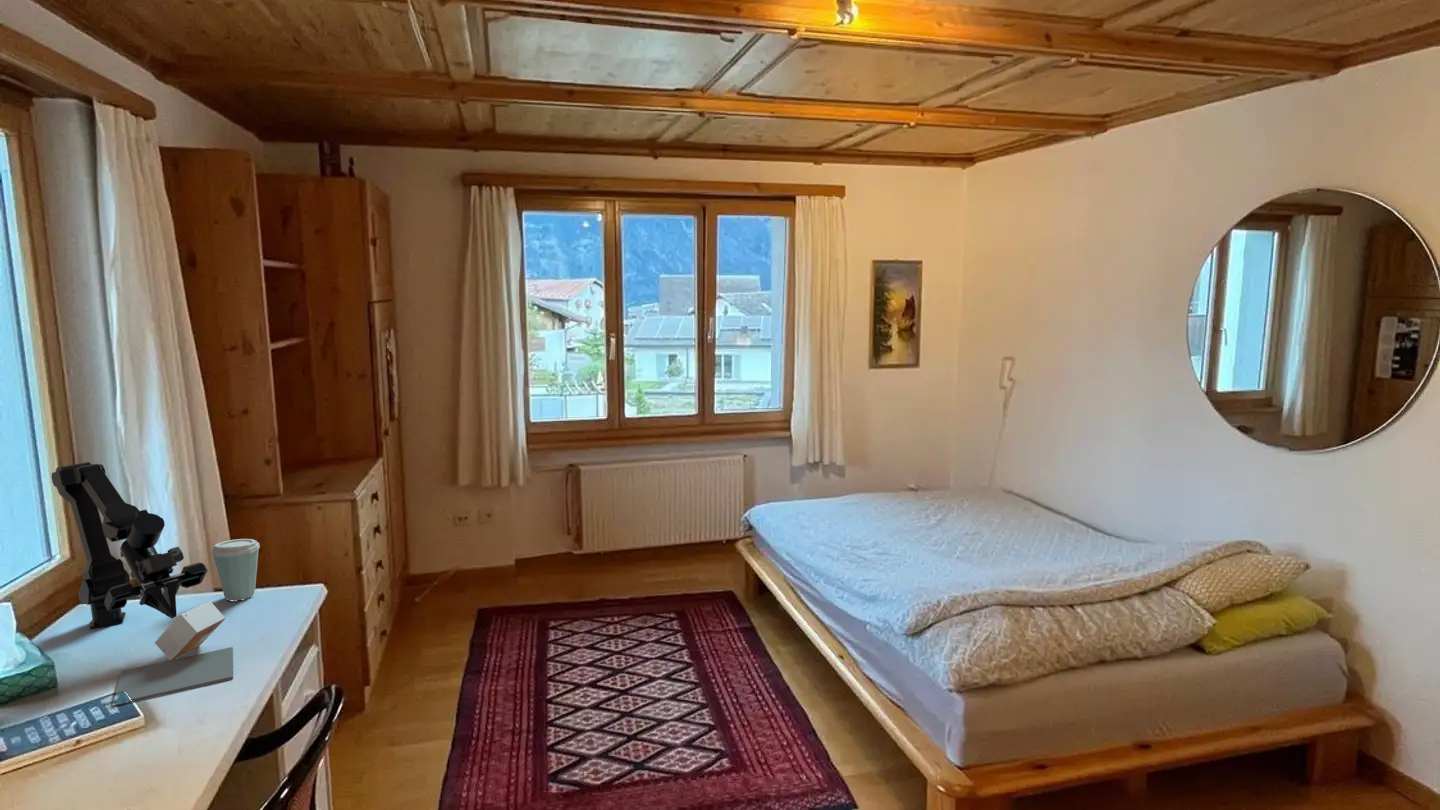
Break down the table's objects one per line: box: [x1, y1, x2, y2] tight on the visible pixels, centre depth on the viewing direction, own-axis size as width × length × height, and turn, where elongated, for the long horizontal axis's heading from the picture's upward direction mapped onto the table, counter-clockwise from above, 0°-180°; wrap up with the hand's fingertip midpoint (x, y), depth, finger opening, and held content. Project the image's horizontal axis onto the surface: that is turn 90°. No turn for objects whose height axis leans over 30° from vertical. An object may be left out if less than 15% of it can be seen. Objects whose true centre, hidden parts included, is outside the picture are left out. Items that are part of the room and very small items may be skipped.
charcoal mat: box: [115, 646, 234, 703], centre depth 168 cm, size 16×20×1 cm
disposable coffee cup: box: [211, 538, 261, 602], centre depth 209 cm, size 11×11×15 cm
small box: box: [154, 600, 226, 660], centre depth 177 cm, size 8×6×10 cm
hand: (174, 616), depth 176 cm, fingers closed
